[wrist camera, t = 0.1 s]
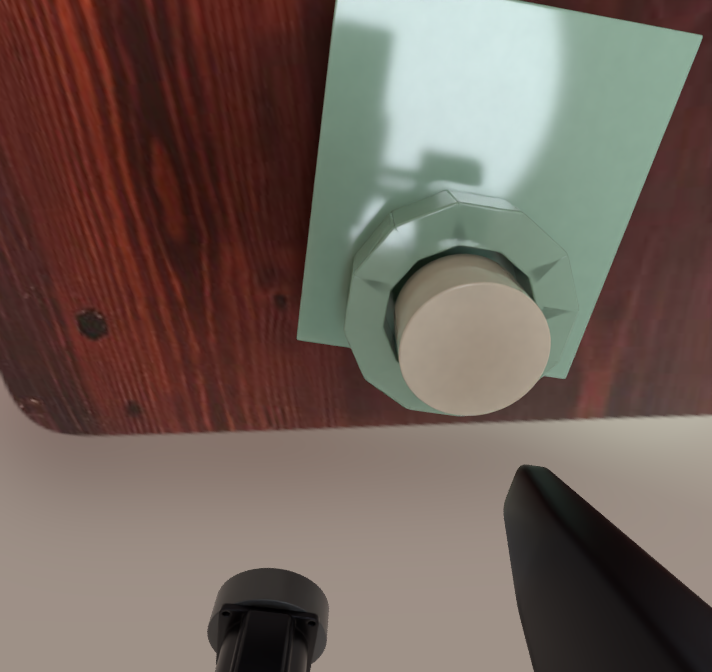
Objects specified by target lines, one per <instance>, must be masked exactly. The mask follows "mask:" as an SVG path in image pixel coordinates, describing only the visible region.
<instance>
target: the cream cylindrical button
mask: <svg viewBox="0 0 712 672" xmlns="http://www.w3.org/2000/svg"><path fill="white" fill-rule="evenodd" d="M394 329H395V337H396V344H397V351H398V358H399V365H400V370H401V373H402V376H403V378H404V380H405V382H406V384H407V385H408V387H409V388H410V390H411V391H412V392H413V393H414V394H415V395H416V397H418V398H419V399H420V400H421V401H423V402H424V403H425V404H427V405H429V406H430V407H432V408H434V409H436V410H439V411H442V412H445V413H448V414H453V415H462V416H475V415H482V414H487V413H491V412H494V411H497V410H500V409H503V408H505V407H507V406H509V405H511V404H512V403H514V402H516V401H517V400H519V399H520V398H521V397H523V396H524V395H525V394H526V393H527V392H528V391H529V390H530V389H531V388H532V387H533V386H534V385H535V384H536V382H537V381H538V380H539V378H540V377H541V375H542V373H543V371H544V369H545V367H546V365H547V362H548V358H549V354H550V348H551V336H550V330H549V326H548V323H547V320H546V318H545V316H544V314H543V312H542V311H541V309H540V308H539V307H538V305H537V304H536V303H535V302H534V301H533V299H532V298H531V297H530V296H529V295H528V294H527V292H526V291H525V290H524V289H523V288H522V286H521V285H520V284H519V283H518V282H517V281H516V279H515V278H514V277H513V276H512V275H511V274H510V273H509V272H508V271H507V270H506V269H505V268H504V267H503V266H501V265H500V264H499V263H497V262H495V261H493V260H491V259H489V258H486V257H483V256H479V255H475V254H454V255H448V256H445V257H441V258H438V259H436V260H433V261H431V262H429V263H428V264H426V265H424V266H423V267H421V268H420V269H419V270H417V271H416V272H415V273H414V274H413V275H412V276H411V277H410V278H409V279H408V280H407V282H406V283H405V284H404V286H403V287H402V289H401V291H400V293H399V295H398V297H397V300H396V304H395V307H394Z"/></svg>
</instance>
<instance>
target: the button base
mask: <svg viewBox="0 0 712 672" xmlns="http://www.w3.org/2000/svg"><path fill="white" fill-rule="evenodd" d="M702 38H703V36H702V35H700V34H695V33H689V32H684V31H679V30H673V29H668V28H663V27H658V26H652V25H647V24H642V23H637V22H631V21H626V20H621V19H616V18H610V17H605V16H600V15H595V14H589V13H584V12H579V11H574V10H568V9H563V8H558V7H552V6H547V5H542V4H537V3H531V2H526V1H521V0H335V7H334V16H333V24H332V33H331V42H330V50H329V59H328V68H327V76H326V85H325V94H324V102H323V111H322V120H321V128H320V137H319V146H318V155H317V163H316V172H315V181H314V189H313V198H312V207H311V215H310V224H309V233H308V241H307V250H306V259H305V267H304V276H303V285H302V293H301V302H300V311H299V319H298V328H297V337H296V338H297V340H300V341H307V342H314V343H321V344H328V345H334V346H341V347H348V348H351V350H352V352H353V354H354V357H355V359H356V361H357V363H358V366H359V368H360V370H361V373H362V375H363V377H364V378H365V379H366V381H368V382H369V383H371V384H372V385H373V386H375V387H376V388H378V389H379V390H380V391H382V392H383V393H385V394H386V395H388V396H389V397H390V398H392V399H393V400H395V401H396V402H397V403H399V404H400V405H402V406H403V407H405V408H406V409H410V410H416V411H423V412H431V413H438V414H445V415H452V416H462V415H453V414H448V413H445V412H442V411H439V410H436V409H434V408H432V407H430V406H429V405H427V404H425V403H424V402H423V401H421V400H420V399H419V398H418V397H416V395H415V394H414V393H413V392H412V391H411V390H410V388H409V387H408V385H407V384H406V382H405V380H404V378H403V376H402V373H401V370H400V365H399V358H398V351H397V344H396V337H395V329H394V307H395V304H396V300H397V297H398V295H399V293H400V291H401V289H402V287H403V286H404V284H405V283H406V282H407V280H408V279H409V278H410V277H411V276H412V275H413V274H414V273H415V272H416V271H417V270H419V269H420V268H421V267H423V266H424V265H426V264H428V263H429V262H431V261H433V260H436V259H438V258H441V257H445V256H448V255H454V254H475V255H479V256H483V257H486V258H489V259H491V260H493V261H495V262H497V263H499V264H500V265H501V266H503V267H504V268H505V269H506V270H507V271H508V272H509V273H510V274H511V275H512V276H513V277H514V278H515V279H516V281H517V282H518V283H519V284H520V285H521V286H522V288H523V289H524V290H525V291H526V292H527V294H528V295H529V296H530V297H531V298H532V299H533V301H534V302H535V303H536V304H537V305H538V307H539V308H540V309H541V311H542V312H543V314H544V316H545V318H546V320H547V323H548V326H549V330H550V336H551V348H550V354H549V358H548V362H547V365H546V367H545V369H544V371H543V373H542V375H541V377H540V378H539V379H541V378H542V377H543V376H548V377H555V378H561V379H565V378H566V376H567V374H568V371H569V369H570V366H571V364H572V361H573V359H574V356H575V354H576V351H577V349H578V346H579V344H580V341H581V339H582V336H583V334H584V331H585V329H586V326H587V324H588V321H589V319H590V316H591V314H592V312H593V309H594V307H595V304H596V302H597V299H598V297H599V294H600V292H601V289H602V287H603V284H604V282H605V279H606V277H607V274H608V272H609V269H610V267H611V264H612V262H613V259H614V257H615V254H616V252H617V249H618V247H619V244H620V242H621V239H622V237H623V234H624V232H625V229H626V227H627V225H628V222H629V220H630V217H631V215H632V212H633V210H634V207H635V205H636V202H637V200H638V197H639V195H640V192H641V190H642V187H643V185H644V182H645V180H646V177H647V175H648V172H649V170H650V167H651V165H652V162H653V160H654V157H655V155H656V152H657V150H658V147H659V145H660V142H661V140H662V138H663V135H664V133H665V130H666V128H667V125H668V123H669V120H670V118H671V115H672V113H673V110H674V108H675V105H676V103H677V100H678V98H679V95H680V93H681V90H682V88H683V85H684V83H685V80H686V78H687V75H688V73H689V70H690V68H691V65H692V63H693V60H694V58H695V55H696V53H697V51H698V48H699V46H700V43H701V41H702Z"/></svg>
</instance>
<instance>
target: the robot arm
mask: <svg viewBox="0 0 712 672" xmlns="http://www.w3.org/2000/svg"><path fill="white" fill-rule="evenodd" d="M504 521H505V528H506V534H507V541H508V547H509V554H510V561H511V568H512V574H513V581H514V588H515V594H516V600H517V606H518V610H519V615H520V619H521V623H522V627H523V631H524V635H525V639H526V643H527V647H528V650H529V654H530V658H531V662H532V666H533V669H534V672H712V608H711V607H710V606H709V605H708V604H707V603H706V602H704V601H703V600H702V599H701V598H700V597H699V596H697V595H696V594H695V593H694V592H692V591H691V590H690V589H689V588H688V587H687V586H685V585H684V584H683V583H682V582H681V581H680V580H678V579H677V578H676V577H675V576H674V575H673V574H671V573H670V572H669V571H668V570H667V569H665V568H664V567H663V566H662V565H661V564H659V563H658V562H657V561H656V560H655V559H654V558H653V557H651V556H650V555H649V554H648V553H647V552H645V551H644V550H643V549H642V548H641V547H639V546H638V545H637V544H636V543H635V542H634V541H632V540H631V539H630V538H629V537H628V536H627V535H625V534H624V533H623V532H622V531H621V530H620V529H618V528H617V527H616V526H615V525H614V524H612V523H611V522H610V521H609V520H608V519H606V518H605V517H604V516H603V515H602V514H601V513H599V512H598V511H597V510H596V509H595V508H593V507H592V506H591V505H590V504H589V503H588V502H586V501H585V500H584V499H583V498H582V497H580V496H579V495H578V494H577V493H576V492H575V491H573V490H572V489H571V488H570V487H569V486H568V485H566V484H565V483H564V482H563V481H562V480H561V479H559V478H558V477H557V476H556V475H555V474H553V473H552V472H551V471H550V470H549V469H547V468H545V467H540V466H532V465H522V466H520V467H519V468H518V470H517V472H516V474H515V476H514V479H513V482H512V484H511V487H510V489H509V492H508V494H507V497H506V500H505V503H504ZM319 619H320V618H319V616H318V615H317V614H316V613H310V612H301V611H293V610H284V609H275V608H266V607H257V606H249V605H240V604H231V603H225V604H222V605H221V607H220V610H219V618H218V637H217V658H216V665H217V666H216V670H215V672H310V668H311V663H312V658H313V653H314V648H315V643H316V637H317V632H318V627H319Z"/></svg>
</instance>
